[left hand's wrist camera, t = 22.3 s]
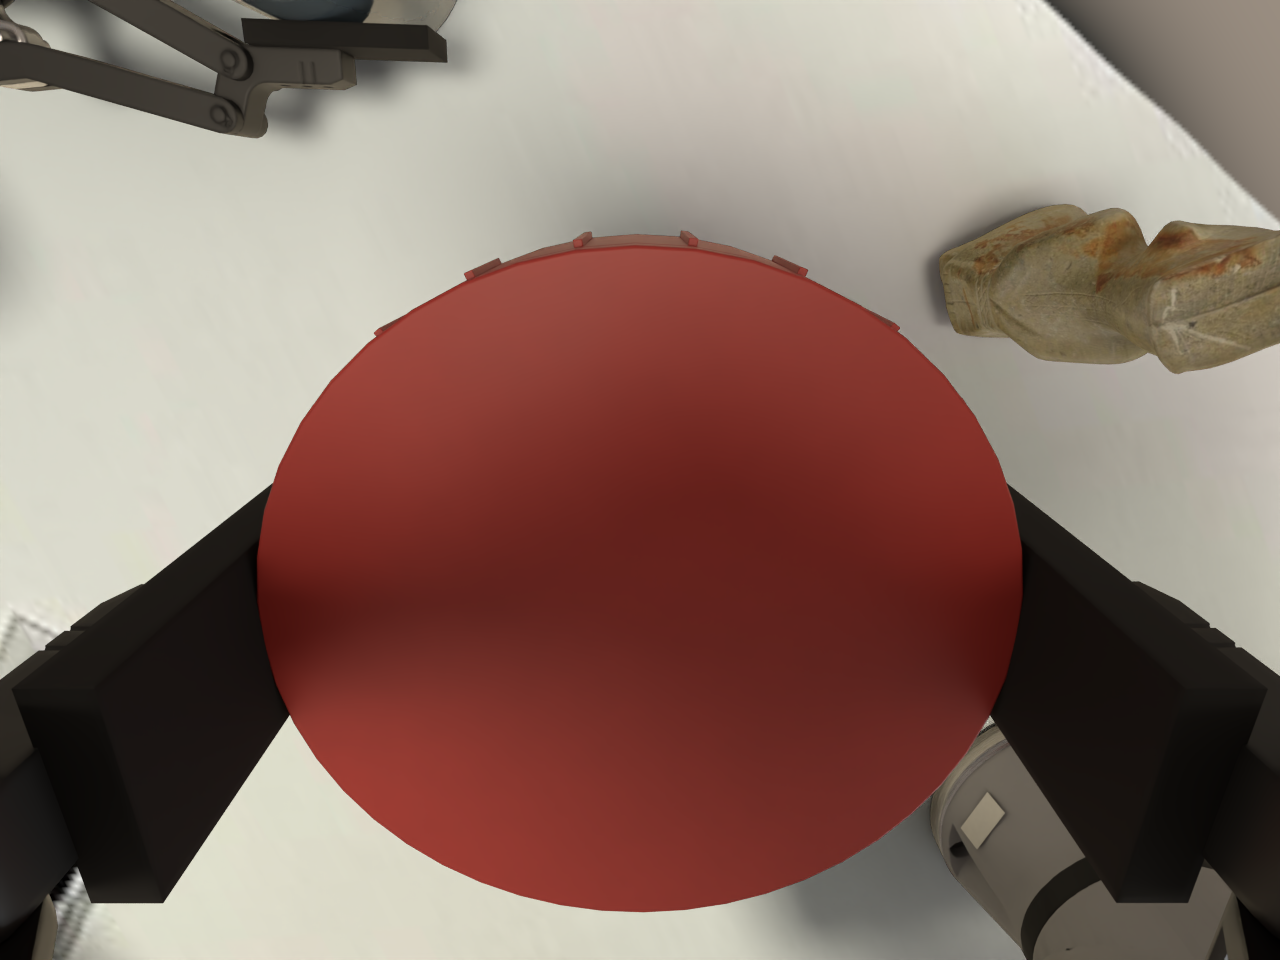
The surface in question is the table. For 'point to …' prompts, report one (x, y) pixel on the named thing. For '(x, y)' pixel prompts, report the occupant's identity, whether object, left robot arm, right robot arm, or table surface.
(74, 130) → the table surface
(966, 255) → the sculpture
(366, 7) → the jar
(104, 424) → the table surface
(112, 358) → the table surface
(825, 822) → the lid
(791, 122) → the table surface
